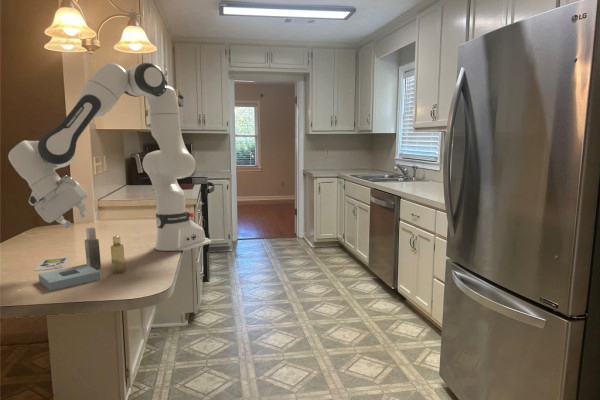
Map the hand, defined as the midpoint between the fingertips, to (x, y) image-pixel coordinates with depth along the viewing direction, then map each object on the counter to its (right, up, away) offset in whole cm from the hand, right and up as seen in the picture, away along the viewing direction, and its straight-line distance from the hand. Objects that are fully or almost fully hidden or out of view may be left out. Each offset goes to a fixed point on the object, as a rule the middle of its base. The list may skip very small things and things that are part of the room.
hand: (77, 221), depth 141 cm
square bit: (+4, -16, +3) cm, 17 cm away
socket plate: (+3, -18, -9) cm, 20 cm away
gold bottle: (+15, -17, -2) cm, 22 cm away
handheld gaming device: (-14, -16, +10) cm, 23 cm away
